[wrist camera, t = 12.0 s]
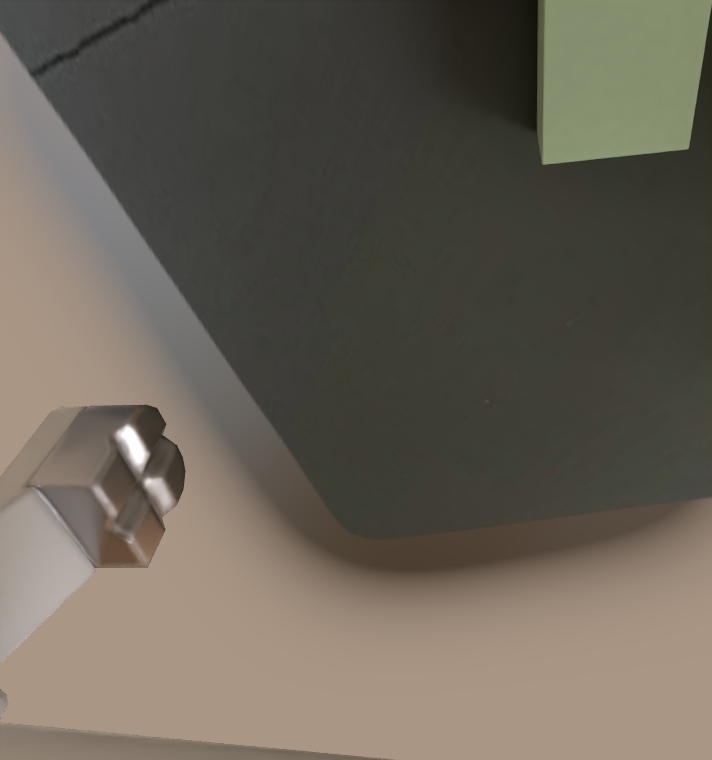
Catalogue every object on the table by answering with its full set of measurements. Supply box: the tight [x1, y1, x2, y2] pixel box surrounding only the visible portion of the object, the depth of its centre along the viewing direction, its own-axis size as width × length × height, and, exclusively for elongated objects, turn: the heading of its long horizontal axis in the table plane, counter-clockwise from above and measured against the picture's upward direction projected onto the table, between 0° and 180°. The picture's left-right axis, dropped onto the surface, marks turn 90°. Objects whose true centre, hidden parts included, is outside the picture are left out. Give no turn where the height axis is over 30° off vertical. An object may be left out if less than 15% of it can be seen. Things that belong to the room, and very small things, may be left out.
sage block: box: [537, 0, 712, 165], centre depth 21 cm, size 5×8×4 cm, turn 10°
